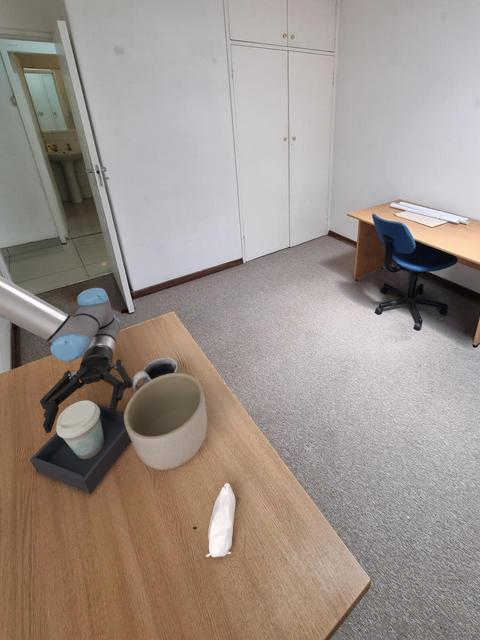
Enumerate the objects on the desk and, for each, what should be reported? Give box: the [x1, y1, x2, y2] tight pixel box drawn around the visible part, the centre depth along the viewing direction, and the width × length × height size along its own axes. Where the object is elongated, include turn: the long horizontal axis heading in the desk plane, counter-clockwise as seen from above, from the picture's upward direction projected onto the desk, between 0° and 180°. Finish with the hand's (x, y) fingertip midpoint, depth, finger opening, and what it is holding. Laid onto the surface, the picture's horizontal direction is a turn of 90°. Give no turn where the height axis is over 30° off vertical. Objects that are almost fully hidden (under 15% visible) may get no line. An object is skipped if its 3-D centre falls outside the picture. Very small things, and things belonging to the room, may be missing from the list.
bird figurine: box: [205, 482, 237, 558], centre depth 65 cm, size 5×7×10 cm
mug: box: [131, 357, 179, 392], centre depth 93 cm, size 10×12×10 cm
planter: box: [124, 372, 208, 471], centre depth 78 cm, size 17×17×15 cm
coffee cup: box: [55, 399, 104, 459], centre depth 77 cm, size 8×8×12 cm
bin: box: [29, 402, 132, 495], centre depth 79 cm, size 16×16×5 cm
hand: (80, 420), depth 76 cm, fingers open, 13 cm apart
